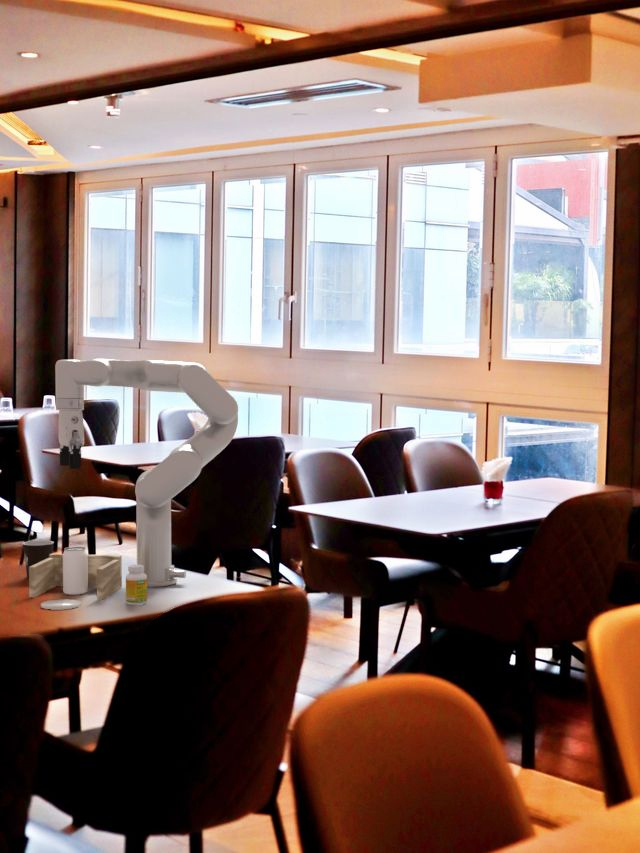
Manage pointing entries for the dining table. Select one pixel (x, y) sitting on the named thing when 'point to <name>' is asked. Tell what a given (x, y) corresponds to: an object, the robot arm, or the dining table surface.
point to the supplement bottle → (136, 585)
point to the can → (75, 571)
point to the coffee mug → (36, 552)
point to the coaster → (60, 604)
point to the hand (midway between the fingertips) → (70, 467)
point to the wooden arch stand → (100, 574)
